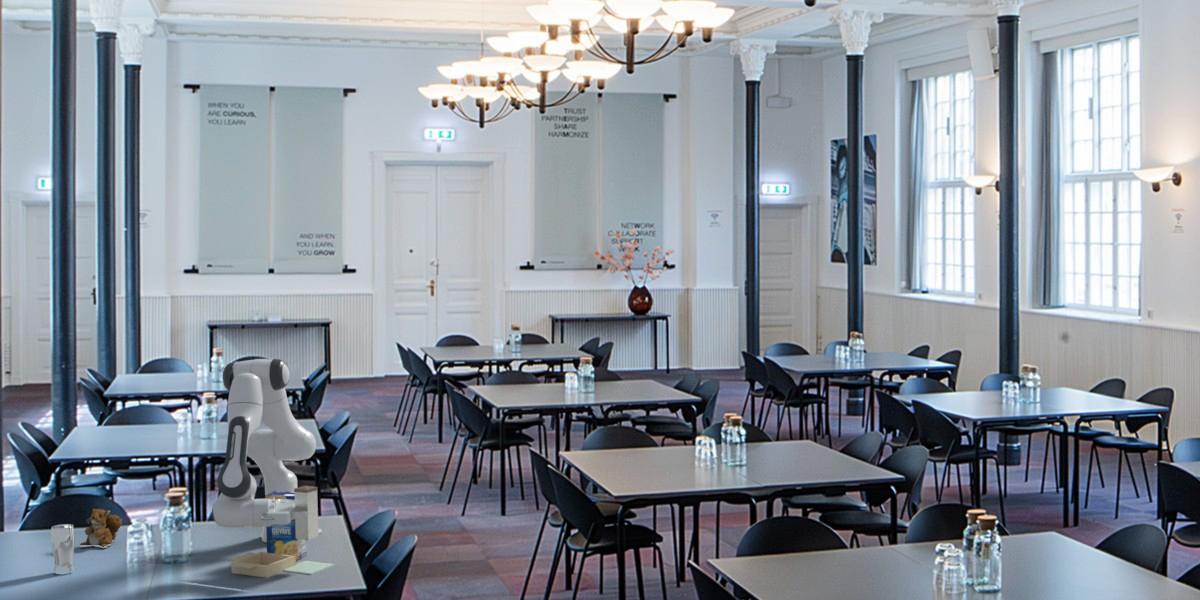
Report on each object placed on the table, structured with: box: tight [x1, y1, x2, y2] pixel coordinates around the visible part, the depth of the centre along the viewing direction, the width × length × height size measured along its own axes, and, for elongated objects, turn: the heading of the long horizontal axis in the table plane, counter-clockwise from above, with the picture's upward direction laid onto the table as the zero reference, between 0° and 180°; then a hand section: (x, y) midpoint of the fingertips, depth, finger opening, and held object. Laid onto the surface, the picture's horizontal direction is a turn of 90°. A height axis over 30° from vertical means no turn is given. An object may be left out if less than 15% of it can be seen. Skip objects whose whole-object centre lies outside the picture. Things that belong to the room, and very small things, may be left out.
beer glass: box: [50, 523, 76, 572], centre depth 402 cm, size 7×7×15 cm
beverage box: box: [264, 491, 308, 562], centre depth 414 cm, size 7×11×22 cm, turn 78°
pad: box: [283, 560, 336, 576], centre depth 401 cm, size 12×12×1 cm
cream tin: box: [294, 485, 319, 541], centre depth 400 cm, size 5×5×16 cm
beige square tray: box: [227, 551, 297, 578], centre depth 399 cm, size 17×17×4 cm
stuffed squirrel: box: [79, 508, 123, 547], centre depth 438 cm, size 10×14×13 cm
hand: (309, 511), depth 400 cm, fingers closed on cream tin, 7 cm apart
